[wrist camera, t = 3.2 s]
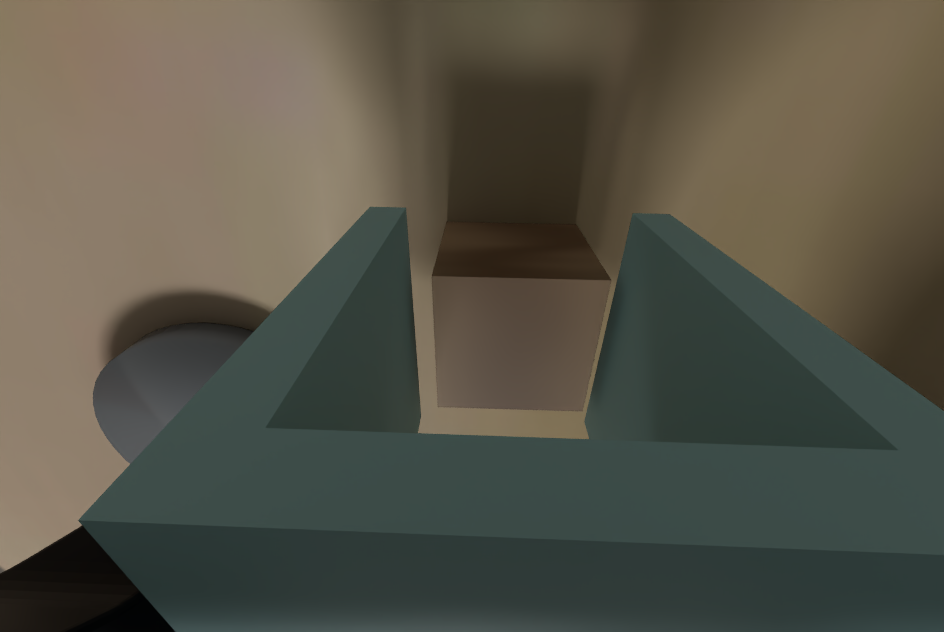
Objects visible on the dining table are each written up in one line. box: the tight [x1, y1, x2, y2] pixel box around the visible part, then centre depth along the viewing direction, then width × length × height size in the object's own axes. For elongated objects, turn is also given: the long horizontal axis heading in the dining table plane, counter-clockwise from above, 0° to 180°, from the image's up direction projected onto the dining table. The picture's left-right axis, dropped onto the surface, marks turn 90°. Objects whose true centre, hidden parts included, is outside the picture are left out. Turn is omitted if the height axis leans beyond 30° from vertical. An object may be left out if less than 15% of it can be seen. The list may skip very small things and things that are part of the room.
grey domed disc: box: [93, 323, 253, 464], centre depth 16 cm, size 10×10×1 cm
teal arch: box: [78, 207, 944, 632], centre depth 7 cm, size 7×6×7 cm
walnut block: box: [432, 222, 611, 411], centre depth 11 cm, size 4×4×4 cm
